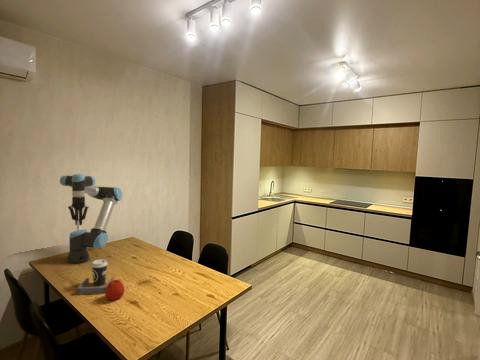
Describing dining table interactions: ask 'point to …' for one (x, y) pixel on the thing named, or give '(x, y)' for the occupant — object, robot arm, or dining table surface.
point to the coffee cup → (99, 272)
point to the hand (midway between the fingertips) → (78, 229)
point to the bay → (91, 288)
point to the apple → (114, 290)
